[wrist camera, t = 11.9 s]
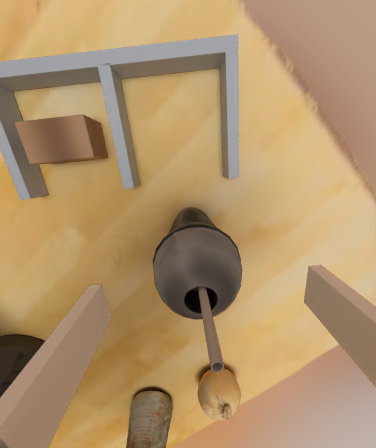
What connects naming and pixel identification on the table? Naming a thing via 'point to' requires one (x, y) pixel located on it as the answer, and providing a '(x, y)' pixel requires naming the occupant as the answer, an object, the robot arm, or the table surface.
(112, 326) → the table surface
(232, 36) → the slot rack
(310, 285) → the robot arm
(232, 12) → the table surface
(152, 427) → the bottle
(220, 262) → the beverage cup
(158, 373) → the table surface
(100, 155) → the walnut bar
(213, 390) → the onion
